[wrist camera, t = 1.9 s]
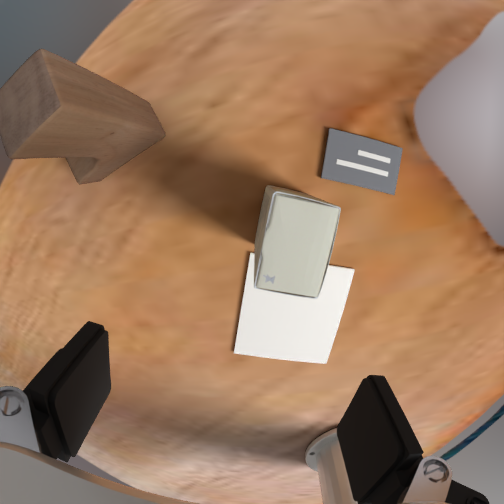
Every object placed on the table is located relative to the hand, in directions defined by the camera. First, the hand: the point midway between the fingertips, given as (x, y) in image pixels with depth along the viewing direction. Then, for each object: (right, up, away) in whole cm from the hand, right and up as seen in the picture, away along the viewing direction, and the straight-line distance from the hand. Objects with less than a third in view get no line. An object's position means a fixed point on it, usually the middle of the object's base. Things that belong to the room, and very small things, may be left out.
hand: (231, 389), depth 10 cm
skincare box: (+4, +8, +20) cm, 22 cm away
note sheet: (+5, -2, +23) cm, 23 cm away
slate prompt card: (+12, +14, +18) cm, 26 cm away
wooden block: (-13, +16, +18) cm, 27 cm away
